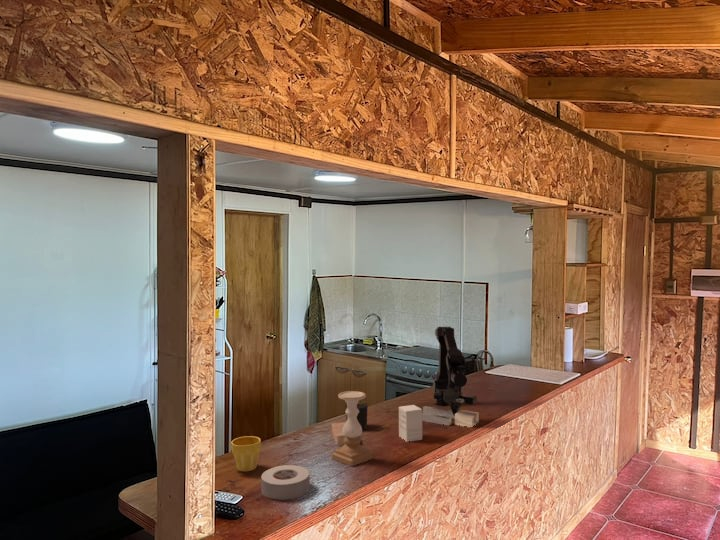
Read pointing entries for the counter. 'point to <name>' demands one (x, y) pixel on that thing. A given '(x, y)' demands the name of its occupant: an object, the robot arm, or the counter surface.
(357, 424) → the candle holder
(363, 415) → the pen holder
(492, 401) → the counter surface
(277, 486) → the tape roll
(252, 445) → the plant pot
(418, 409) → the supplement box
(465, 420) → the block
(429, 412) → the chute
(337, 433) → the brick
